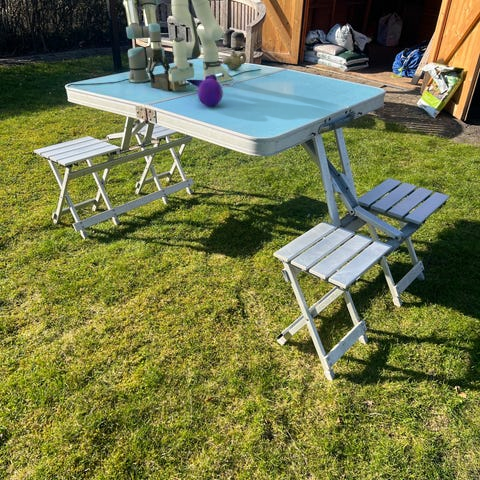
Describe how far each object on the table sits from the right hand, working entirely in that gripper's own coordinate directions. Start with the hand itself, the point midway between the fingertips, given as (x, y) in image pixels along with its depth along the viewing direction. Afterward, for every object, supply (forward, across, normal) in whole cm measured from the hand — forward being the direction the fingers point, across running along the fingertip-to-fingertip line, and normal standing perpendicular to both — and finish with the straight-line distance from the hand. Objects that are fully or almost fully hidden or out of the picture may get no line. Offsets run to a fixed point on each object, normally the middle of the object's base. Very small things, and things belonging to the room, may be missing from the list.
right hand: (182, 86), depth 302 cm
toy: (+3, -14, -37) cm, 40 cm away
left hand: (0, +2, +26) cm, 26 cm away
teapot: (+4, +82, +26) cm, 86 cm away
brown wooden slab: (+4, +2, +19) cm, 20 cm away
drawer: (+3, +1, +10) cm, 10 cm away
